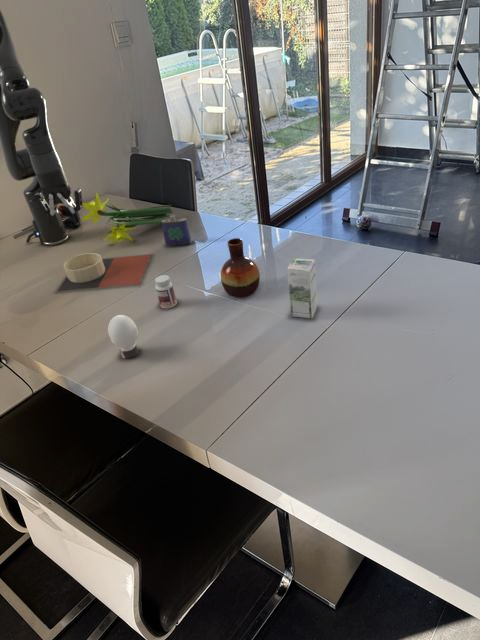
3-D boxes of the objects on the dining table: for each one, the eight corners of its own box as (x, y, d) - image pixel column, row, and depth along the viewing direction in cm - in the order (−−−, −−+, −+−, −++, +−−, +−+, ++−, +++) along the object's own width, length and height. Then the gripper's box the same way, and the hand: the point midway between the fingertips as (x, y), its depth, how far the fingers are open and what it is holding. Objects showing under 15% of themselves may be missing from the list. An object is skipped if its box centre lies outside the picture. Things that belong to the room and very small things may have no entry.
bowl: (63, 284, 151) (58, 271, 149) (75, 266, 161) (70, 254, 158) (99, 281, 150) (95, 268, 148) (109, 263, 160) (105, 251, 157)
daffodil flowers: (187, 228, 180) (101, 238, 157) (168, 241, 191) (85, 252, 168) (173, 185, 179) (84, 188, 156) (155, 201, 190) (69, 206, 167)
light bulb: (119, 365, 115) (105, 328, 108) (114, 350, 120) (101, 314, 113) (146, 356, 117) (134, 319, 110) (140, 342, 122) (129, 306, 115)
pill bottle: (170, 298, 138) (163, 272, 133) (180, 303, 135) (173, 277, 130) (157, 305, 136) (149, 279, 131) (166, 310, 133) (159, 284, 128)
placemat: (57, 292, 148) (57, 291, 148) (78, 262, 164) (77, 261, 164) (139, 285, 147) (138, 283, 146) (151, 255, 162) (151, 254, 162)
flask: (192, 241, 168) (186, 212, 162) (191, 245, 166) (184, 215, 159) (167, 243, 169) (159, 214, 162) (165, 247, 167) (158, 218, 160)
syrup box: (317, 307, 126) (315, 258, 117) (312, 320, 122) (309, 269, 113) (296, 305, 128) (293, 256, 119) (290, 317, 124) (286, 268, 115)
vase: (267, 283, 139) (262, 234, 130) (251, 303, 131) (244, 252, 122) (234, 279, 143) (226, 231, 134) (216, 298, 135) (207, 248, 126)
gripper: (76, 161, 137) (95, 217, 148) (29, 166, 138) (51, 222, 149) (68, 169, 132) (88, 227, 142) (18, 174, 133) (42, 232, 143)
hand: (69, 224), depth 145 cm, fingers open, 5 cm apart
